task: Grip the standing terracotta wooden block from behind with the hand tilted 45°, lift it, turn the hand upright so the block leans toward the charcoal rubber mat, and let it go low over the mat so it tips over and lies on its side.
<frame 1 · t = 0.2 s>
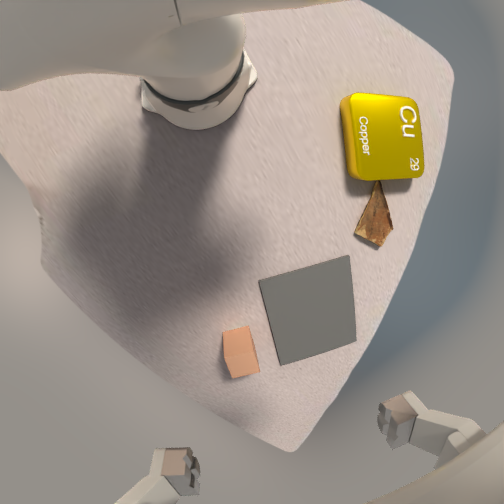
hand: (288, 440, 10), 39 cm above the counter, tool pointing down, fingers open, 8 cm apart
charcoal mat: (313, 313, 53), on the counter
shard: (368, 215, 49), on the counter
terracotta block: (239, 339, 53), on the counter
element tile: (378, 137, 45), on the counter
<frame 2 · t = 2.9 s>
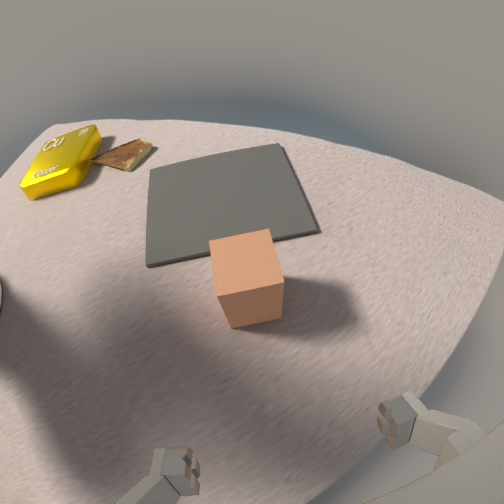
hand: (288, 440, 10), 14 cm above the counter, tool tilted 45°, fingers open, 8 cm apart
charcoal mat: (221, 196, 37), on the counter
shard: (122, 164, 44), on the counter
terracotta block: (251, 300, 29), on the counter
element tile: (66, 169, 46), on the counter
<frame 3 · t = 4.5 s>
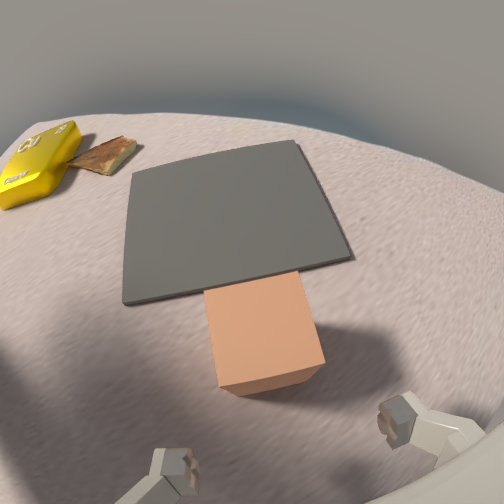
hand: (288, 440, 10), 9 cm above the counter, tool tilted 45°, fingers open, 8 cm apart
charcoal mat: (221, 208, 28), on the counter
shard: (102, 167, 35), on the counter
terracotta block: (265, 358, 20), on the counter
element tile: (41, 173, 37), on the counter
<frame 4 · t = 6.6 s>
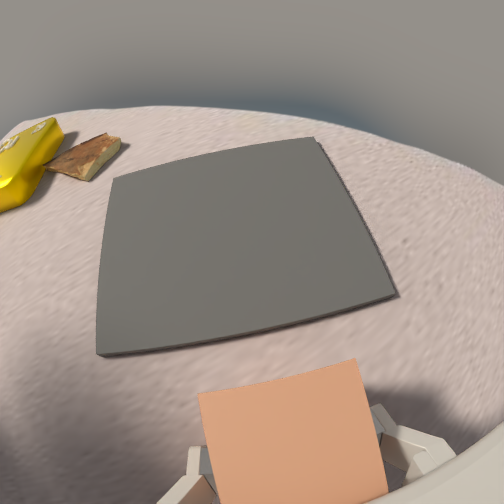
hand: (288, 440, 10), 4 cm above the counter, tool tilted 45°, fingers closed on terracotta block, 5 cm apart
charcoal mat: (224, 225, 21), on the counter
shard: (81, 170, 29), on the counter
terracotta block: (285, 435, 13), on the counter, touching gripper
element tile: (19, 178, 31), on the counter
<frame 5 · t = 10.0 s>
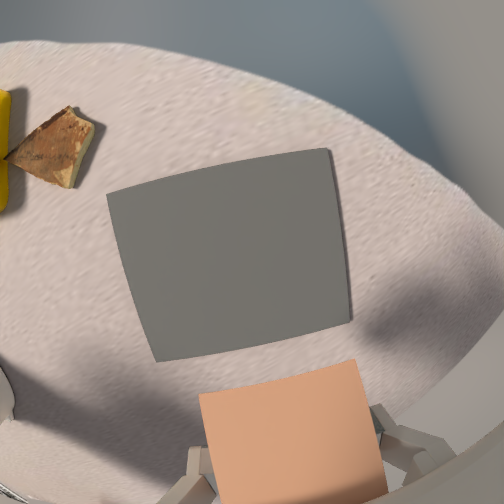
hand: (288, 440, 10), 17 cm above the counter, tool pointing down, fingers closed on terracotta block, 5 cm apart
charcoal mat: (234, 261, 25), on the counter
shard: (54, 160, 22), on the counter
terracotta block: (284, 435, 13), point 14 cm above the counter, tilted 45°, touching gripper
when the fingers open (7 cm above the counter, at t = 12.3 s): terracotta block moves 2 cm and tips over, resting on charcoal mat.
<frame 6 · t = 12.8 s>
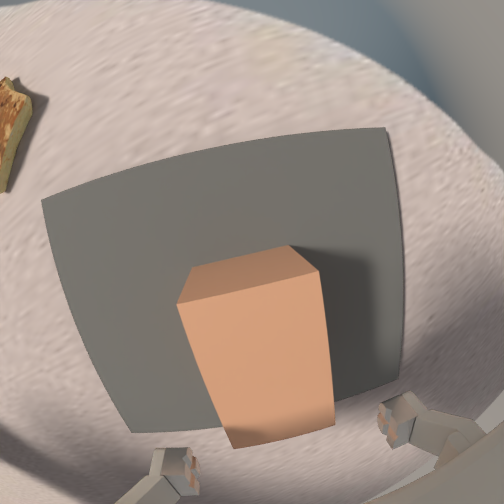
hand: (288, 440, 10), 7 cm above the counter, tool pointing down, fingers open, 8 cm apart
charcoal mat: (238, 307, 16), on the counter
terracotta block: (276, 406, 14), point 3 cm above the counter, tilted 90°, touching charcoal mat
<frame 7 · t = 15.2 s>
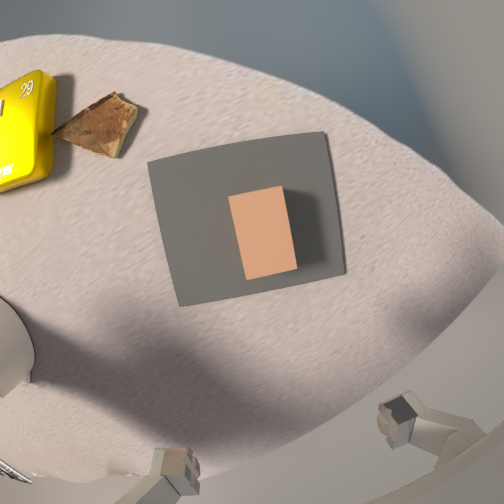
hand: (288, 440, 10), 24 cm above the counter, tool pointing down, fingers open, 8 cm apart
charcoal mat: (249, 218, 32), on the counter
shard: (99, 136, 29), on the counter
terracotta block: (268, 267, 30), point 3 cm above the counter, tilted 90°, touching charcoal mat
element tile: (19, 136, 27), on the counter
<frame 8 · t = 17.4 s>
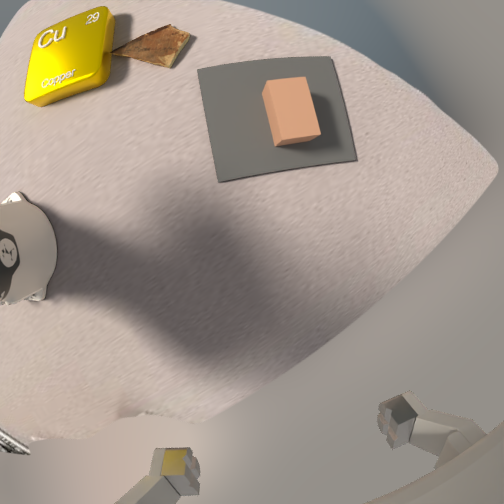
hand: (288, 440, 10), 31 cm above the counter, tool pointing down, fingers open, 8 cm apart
charcoal mat: (278, 111, 36), on the counter
shard: (154, 55, 33), on the counter
terracotta block: (296, 140, 34), point 3 cm above the counter, tilted 90°, touching charcoal mat
element tile: (74, 60, 31), on the counter
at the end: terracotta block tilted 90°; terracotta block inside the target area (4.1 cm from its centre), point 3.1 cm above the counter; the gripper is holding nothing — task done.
